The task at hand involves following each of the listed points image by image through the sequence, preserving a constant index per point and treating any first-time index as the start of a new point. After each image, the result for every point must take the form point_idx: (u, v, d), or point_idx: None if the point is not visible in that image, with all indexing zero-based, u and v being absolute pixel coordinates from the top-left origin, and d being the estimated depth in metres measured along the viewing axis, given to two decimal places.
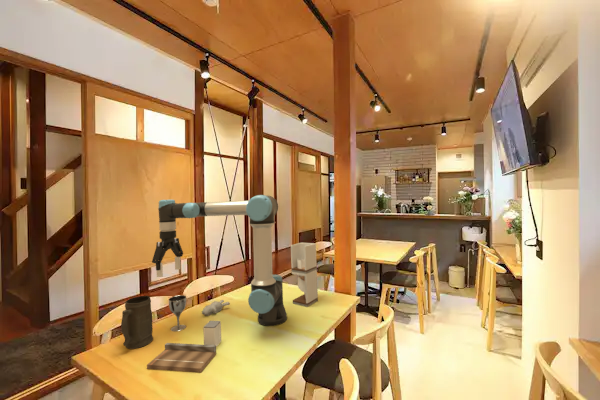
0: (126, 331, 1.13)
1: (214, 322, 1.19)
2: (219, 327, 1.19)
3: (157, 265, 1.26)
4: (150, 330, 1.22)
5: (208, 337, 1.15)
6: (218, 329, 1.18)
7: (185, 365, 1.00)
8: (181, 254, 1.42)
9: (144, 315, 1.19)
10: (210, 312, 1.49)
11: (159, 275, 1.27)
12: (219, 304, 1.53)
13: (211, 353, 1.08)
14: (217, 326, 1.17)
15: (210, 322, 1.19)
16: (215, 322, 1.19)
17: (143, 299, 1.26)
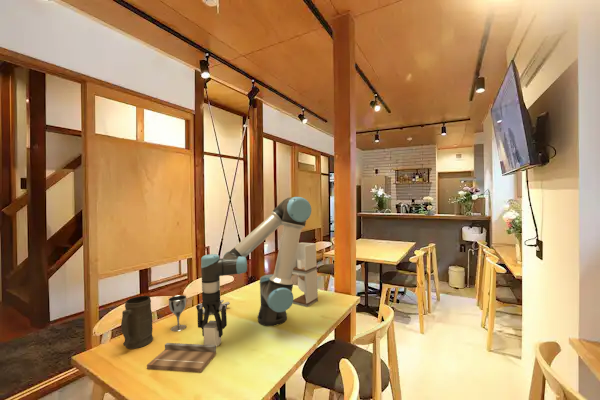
0: (126, 331, 1.13)
1: (214, 322, 1.19)
2: None
3: None
4: (150, 330, 1.22)
5: (208, 337, 1.15)
6: None
7: (185, 365, 1.00)
8: (220, 328, 1.15)
9: (144, 315, 1.19)
10: (210, 312, 1.49)
11: None
12: None
13: (211, 353, 1.08)
14: None
15: (210, 322, 1.19)
16: (215, 322, 1.19)
17: (143, 299, 1.26)
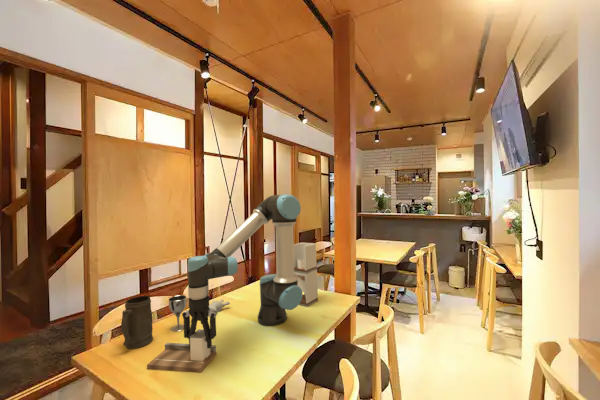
0: (126, 331, 1.13)
1: (202, 331, 1.07)
2: None
3: None
4: (150, 330, 1.22)
5: (195, 348, 1.03)
6: None
7: (185, 365, 1.00)
8: (208, 339, 1.04)
9: (144, 315, 1.19)
10: None
11: None
12: (219, 304, 1.53)
13: (211, 353, 1.08)
14: (205, 336, 1.05)
15: (198, 331, 1.07)
16: (203, 331, 1.07)
17: (143, 299, 1.26)
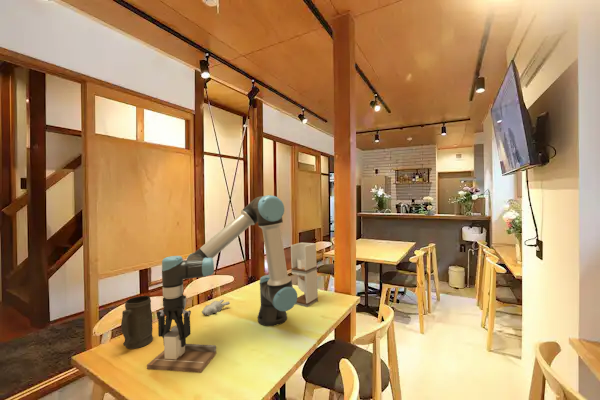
0: (126, 331, 1.13)
1: (177, 330, 1.09)
2: None
3: None
4: (150, 330, 1.22)
5: (169, 347, 1.04)
6: None
7: (185, 365, 1.00)
8: (182, 337, 1.05)
9: (144, 315, 1.19)
10: (210, 312, 1.49)
11: None
12: (219, 304, 1.53)
13: (211, 353, 1.08)
14: None
15: (173, 330, 1.09)
16: None
17: (143, 299, 1.26)
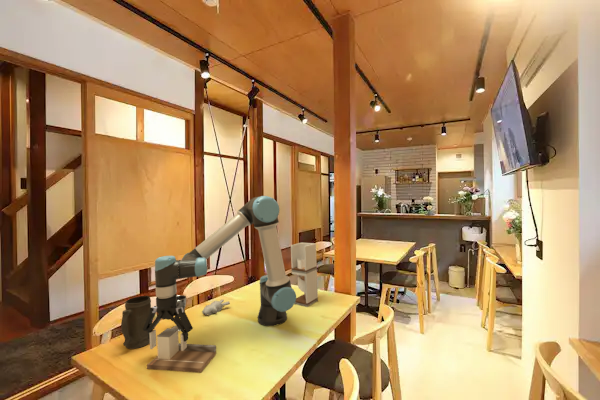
0: (126, 331, 1.13)
1: (170, 330, 1.09)
2: (176, 336, 1.09)
3: None
4: None
5: (162, 347, 1.05)
6: (174, 338, 1.08)
7: (185, 365, 1.00)
8: (184, 331, 1.05)
9: (144, 315, 1.19)
10: (211, 312, 1.49)
11: None
12: (219, 304, 1.54)
13: (211, 353, 1.08)
14: (173, 335, 1.07)
15: (166, 330, 1.09)
16: (172, 330, 1.09)
17: (143, 299, 1.26)
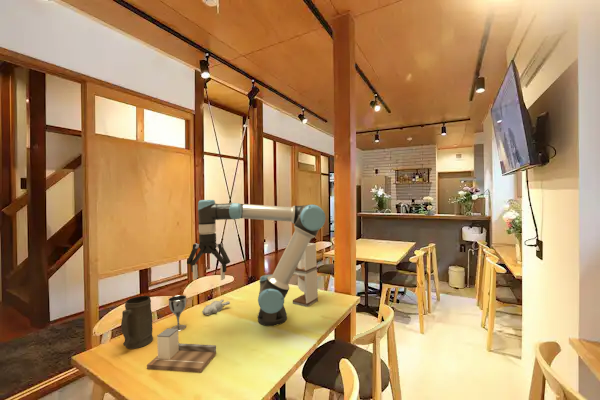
0: (126, 331, 1.13)
1: (170, 330, 1.09)
2: (176, 336, 1.09)
3: None
4: (150, 330, 1.22)
5: (162, 347, 1.05)
6: (174, 338, 1.08)
7: (185, 365, 1.00)
8: (223, 263, 1.22)
9: (144, 315, 1.19)
10: (211, 312, 1.49)
11: None
12: (219, 304, 1.54)
13: (211, 353, 1.08)
14: (173, 335, 1.07)
15: (166, 330, 1.09)
16: (172, 330, 1.09)
17: (143, 299, 1.26)
